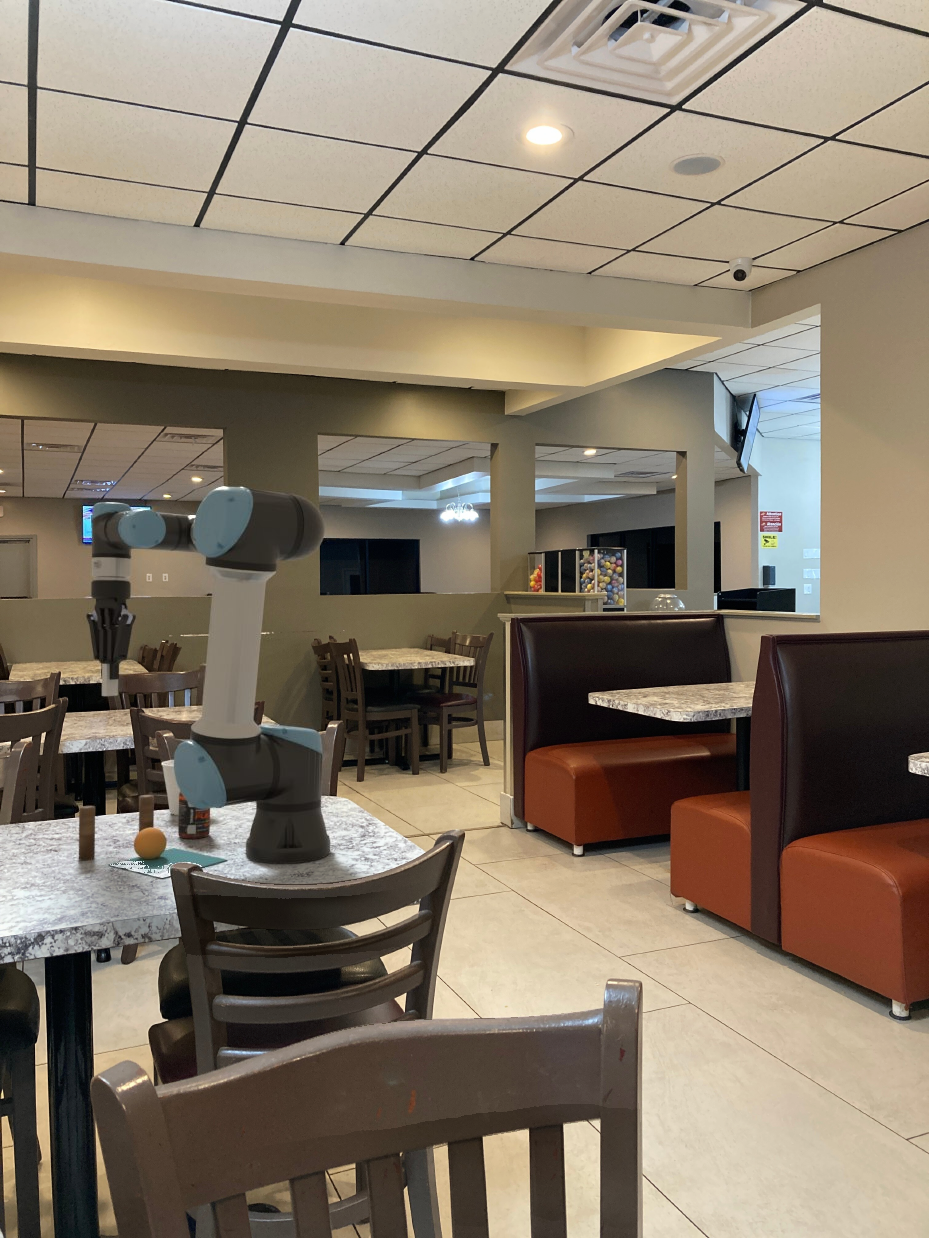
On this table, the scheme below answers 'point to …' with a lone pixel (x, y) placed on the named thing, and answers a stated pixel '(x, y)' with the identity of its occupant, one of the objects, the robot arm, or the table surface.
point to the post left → (86, 832)
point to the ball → (150, 843)
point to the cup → (171, 786)
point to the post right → (146, 812)
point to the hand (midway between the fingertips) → (109, 695)
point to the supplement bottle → (192, 820)
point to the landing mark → (175, 859)
